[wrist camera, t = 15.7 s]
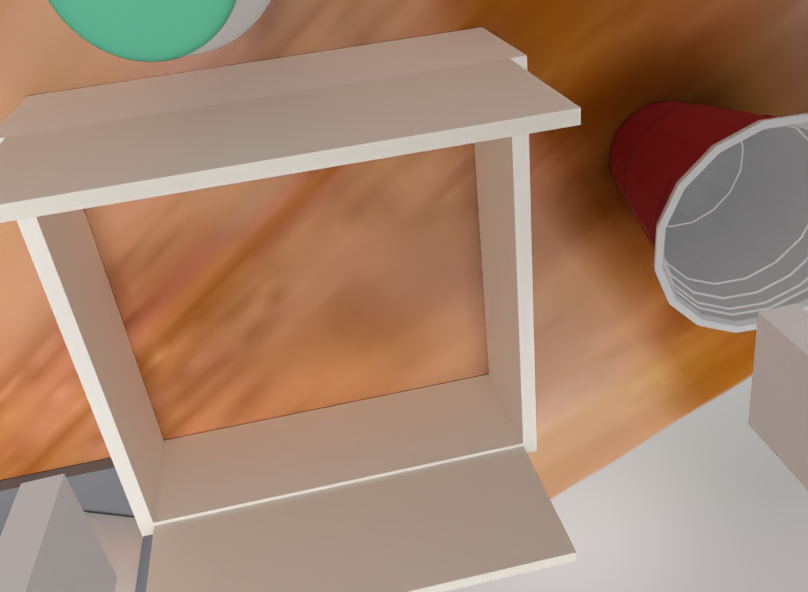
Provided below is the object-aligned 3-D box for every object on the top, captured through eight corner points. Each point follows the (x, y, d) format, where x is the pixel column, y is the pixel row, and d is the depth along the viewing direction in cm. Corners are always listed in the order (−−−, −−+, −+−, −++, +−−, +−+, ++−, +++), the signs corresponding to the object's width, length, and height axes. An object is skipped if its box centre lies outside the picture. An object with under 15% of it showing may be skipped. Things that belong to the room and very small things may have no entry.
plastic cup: (544, 96, 41) (646, 171, 31) (730, 25, 41) (893, 76, 31) (581, 261, 47) (678, 370, 37) (745, 198, 47) (887, 290, 37)
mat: (141, 451, 48) (139, 462, 47) (189, 580, 54) (188, 592, 53) (-59, 492, 46) (-65, 504, 45) (13, 620, 52) (9, 632, 51)
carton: (482, 27, 39) (602, 104, 26) (500, 381, 50) (591, 557, 37) (26, 96, 36) (-89, 219, 24) (154, 453, 48) (123, 667, 35)
